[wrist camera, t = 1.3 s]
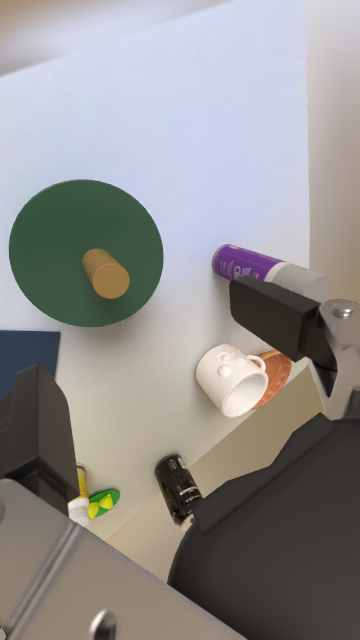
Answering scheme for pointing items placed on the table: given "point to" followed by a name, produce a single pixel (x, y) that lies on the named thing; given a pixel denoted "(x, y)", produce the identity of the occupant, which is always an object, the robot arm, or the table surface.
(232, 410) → the mug
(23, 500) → the robot arm
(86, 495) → the supplement bottle
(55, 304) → the lid
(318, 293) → the container
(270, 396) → the saucer
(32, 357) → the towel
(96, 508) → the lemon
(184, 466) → the beverage can
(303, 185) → the table surface
